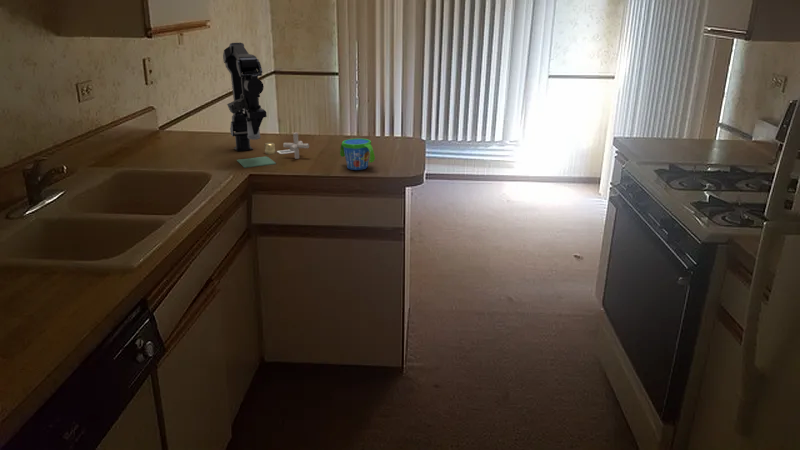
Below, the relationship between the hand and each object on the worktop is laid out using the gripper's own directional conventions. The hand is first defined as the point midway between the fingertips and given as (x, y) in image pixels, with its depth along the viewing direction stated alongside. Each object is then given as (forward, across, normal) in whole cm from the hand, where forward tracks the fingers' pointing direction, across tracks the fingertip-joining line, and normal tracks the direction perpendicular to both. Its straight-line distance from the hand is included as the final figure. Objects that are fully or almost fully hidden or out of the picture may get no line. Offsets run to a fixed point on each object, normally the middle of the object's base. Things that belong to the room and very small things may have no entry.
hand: (253, 133), depth 234 cm
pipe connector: (+12, +1, +16) cm, 20 cm away
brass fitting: (+11, -12, +9) cm, 19 cm away
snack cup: (+12, +26, +31) cm, 42 cm away
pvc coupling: (+2, 0, 0) cm, 2 cm away
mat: (+11, 0, 0) cm, 11 cm away
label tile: (+11, -11, +16) cm, 22 cm away
